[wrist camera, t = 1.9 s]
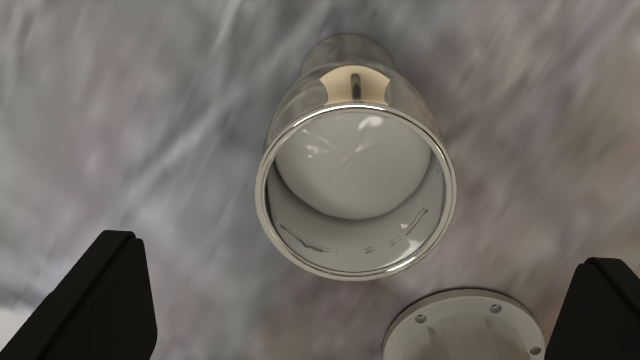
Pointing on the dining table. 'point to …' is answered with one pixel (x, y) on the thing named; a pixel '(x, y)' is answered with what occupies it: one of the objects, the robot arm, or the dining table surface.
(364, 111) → the beer glass
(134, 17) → the dining table surface
